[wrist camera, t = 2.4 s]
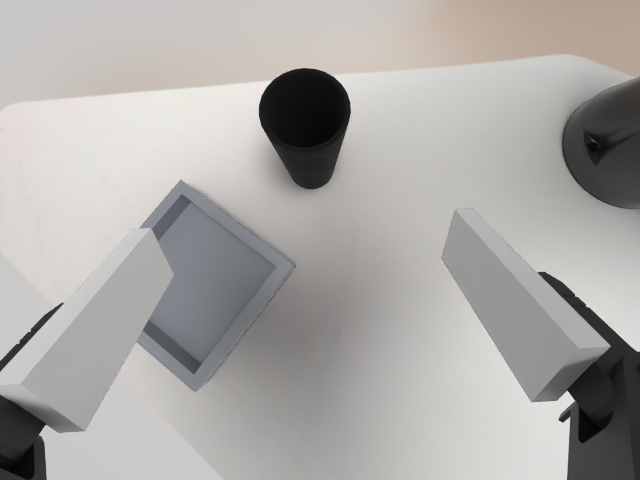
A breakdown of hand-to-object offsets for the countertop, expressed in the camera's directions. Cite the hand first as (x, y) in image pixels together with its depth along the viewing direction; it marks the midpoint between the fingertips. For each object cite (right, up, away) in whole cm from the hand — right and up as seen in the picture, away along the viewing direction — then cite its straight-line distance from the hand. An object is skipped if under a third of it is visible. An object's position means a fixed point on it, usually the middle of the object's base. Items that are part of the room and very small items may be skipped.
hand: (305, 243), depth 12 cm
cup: (0, +9, +22) cm, 24 cm away
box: (-13, -5, +20) cm, 25 cm away
